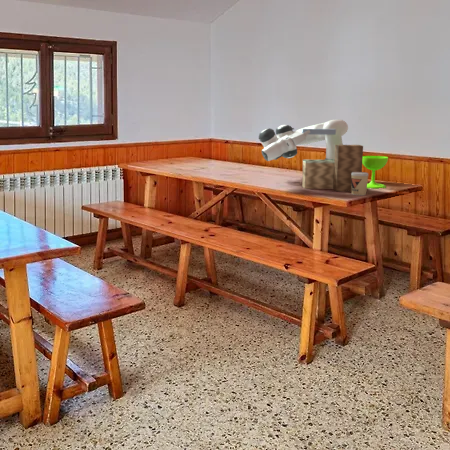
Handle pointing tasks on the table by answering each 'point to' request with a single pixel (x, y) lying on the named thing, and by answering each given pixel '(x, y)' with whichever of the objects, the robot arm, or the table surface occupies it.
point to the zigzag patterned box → (318, 174)
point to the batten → (321, 131)
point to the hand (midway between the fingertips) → (309, 130)
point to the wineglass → (374, 168)
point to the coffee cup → (359, 183)
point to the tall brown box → (346, 165)
